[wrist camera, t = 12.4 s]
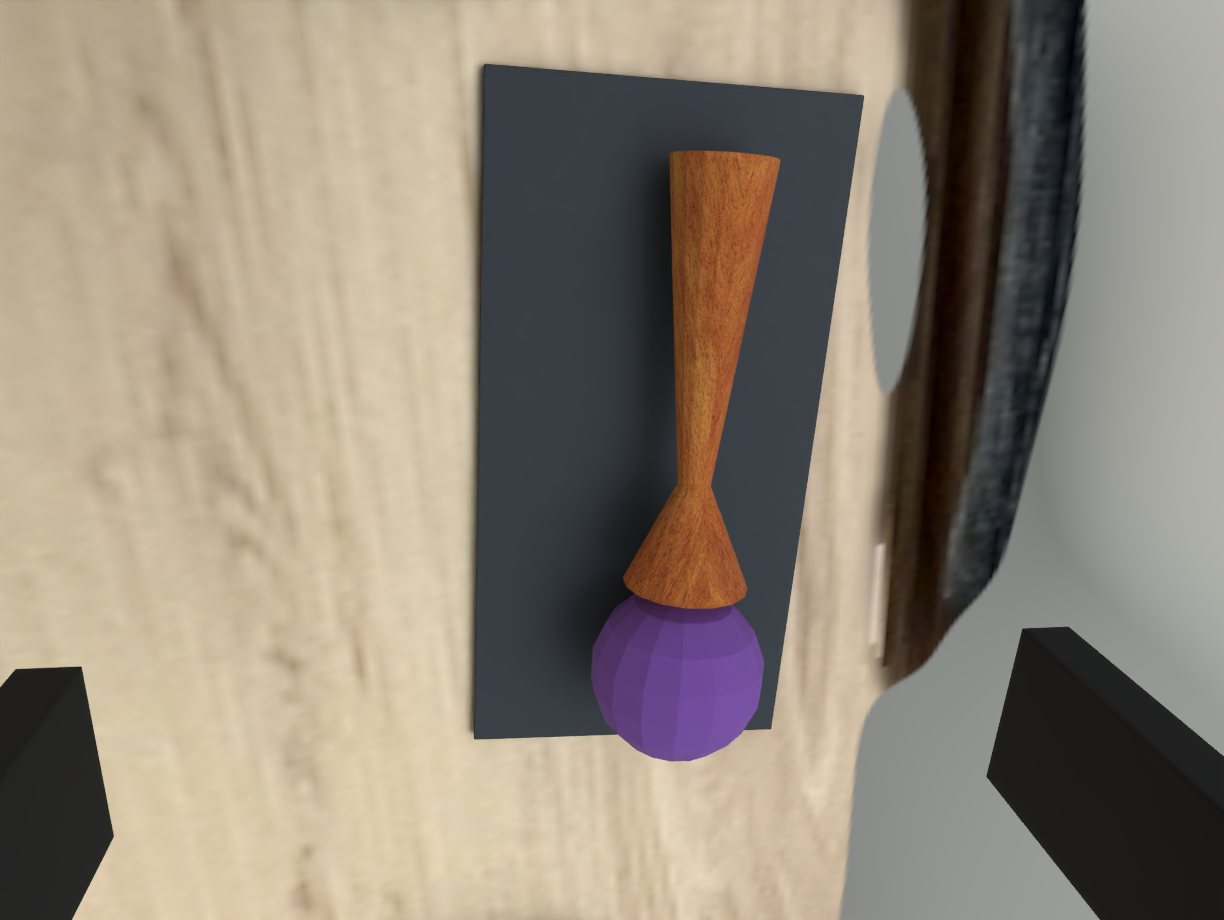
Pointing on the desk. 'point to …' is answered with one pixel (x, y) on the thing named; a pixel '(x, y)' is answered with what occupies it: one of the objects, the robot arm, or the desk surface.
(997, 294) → the desk surface
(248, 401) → the desk surface
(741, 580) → the kendama
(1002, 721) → the robot arm
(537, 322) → the mat
